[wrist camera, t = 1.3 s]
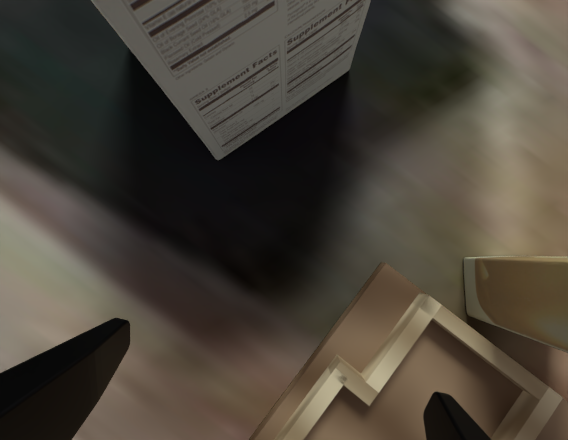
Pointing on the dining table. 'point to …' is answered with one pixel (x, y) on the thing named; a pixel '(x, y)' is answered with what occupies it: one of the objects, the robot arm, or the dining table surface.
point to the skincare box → (520, 295)
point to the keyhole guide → (408, 375)
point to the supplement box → (238, 56)
